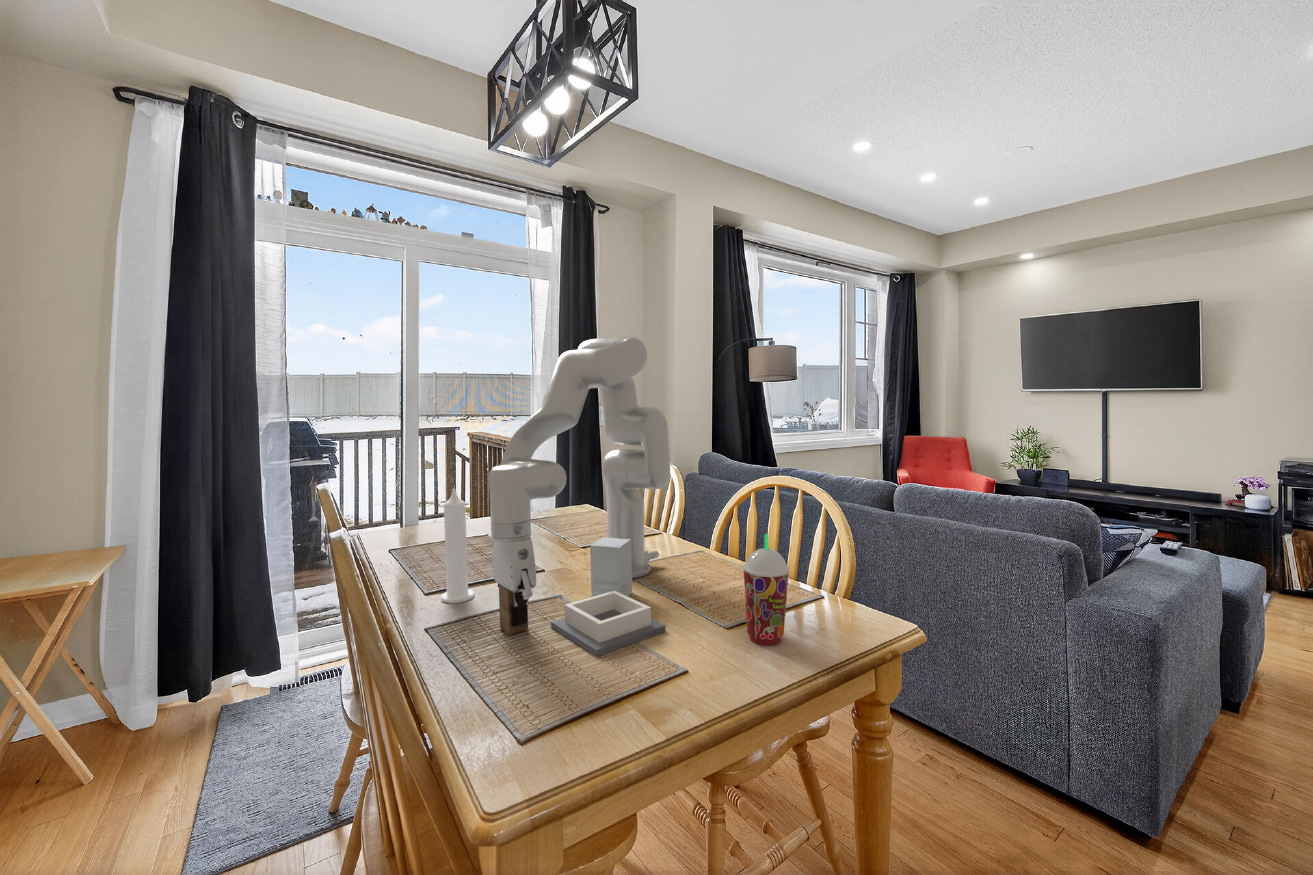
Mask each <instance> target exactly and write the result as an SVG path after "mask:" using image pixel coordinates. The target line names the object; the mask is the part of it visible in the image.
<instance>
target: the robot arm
mask: <svg viewBox="0 0 1313 875" xmlns="http://www.w3.org/2000/svg"><path fill="white" fill-rule="evenodd" d="M647 352H648V351H647V349H646V346H645V344H644V343H643V341H642V340H640V339H639V338H637V337H635V336H634V337H633V336H623V337H621V336H620V337H604V338H603V337H602V338H601V337H600V338H591V339H588V340H584V341H583V342H581V343H580V344H579V346H578V347H577V349H571V350H566V351H564V352H563V353H561V355H560V356H559V357H558V359H557V361H556V364H555V367H554V369H553V371H552V374H551V378H550V379H549V382H548V384H547V385H548V386H547V387H546V390H545V394H544V396H543V399H542V402H541V404H540V407H539V409H538V410H537V411H536V412H535V413H534V414H532V415H531V416H530V417H529V418H528V419H527V420H526V421H525V422H524V423H523V424H522V425H521V426H520V427H519V428H518V429H517V430H516V432H514V434H513V435H512V436H511V437H510V440H509V441H508V443H507V445H506V448H505V450H504V454H503V455H502V458H501V461H500V464H499V465H496V466H494V467H492V468H491V469H490V471H489V474H488V476H489V483H488V484H489V508H490V509H489V510H490V513H489V514H490V534H491V537H490V538H491V540H492V560H491V561H492V575H493V580H494V581H495V582H496V584H497V587H498V588H499V584H500V585H502V586H503V587H505V588H507V589H509V590H510V591H511V595H512V604H513V606H511V625H512V626H513V627H516V626H519V625H522V624H526V623H527V622H528V623H529V612H528V613H527V604H529V599H531V597H532V596H533V591H532V589H534V588H535V587H536V586H537V573H536V572H537V570H536V559H535V551H534V549H535V548H534V544H533V539H532V537H531V536H532V514H531V513H532V512H531V511H532V508H531V500H533V499H535V500H536V499H549V498H554V497H555V496H557V495H559V494H560V493H561V492H563V490H564V488H565V486H566V484H567V473H566V470H565V469H564V467H563V466H562V465H561V464H559V463H557V462H555V461H552V460H546V459H545V460H543V459H535V458H534V459H533V456H534V454H535V453H536V452H537V450H538V449H539V447H540V446H541V445H542V444H543V443H545V442H546V441H547V440H550V439H551V438H554V437H555V436H557V435H560V434H561V433H563V432H566V431H568V430H569V429H571V428H573V427H575V426H576V425H577V424H578V422H579V420H580V417H581V414H582V411H583V408H584V405H585V402H586V399H587V396H588V394H589V391H590V389H600V391H601V398H602V409H603V421H604V430H605V435H606V438H607V439H608V441H609V442H611V443H612V444H617V445H625V446H639V447H641V446H642V449H635V448H633V449H631V448H615V449H612V450H610V451H609V452H608V453H607V454H605V456H604V458H603V460H602V464H601V469H602V476H603V481H604V486H605V493H606V494H605V495H606V538H619V539H631V556H632V579H635V578H640V577H643V576H644V577H645V576H646V575H647V574H649V573H650V572H651V565H650V564H649V563H648V562H650V560H654V559H658V558H659V557H660V553H659V552H658V550H654V551H653V550H652V551H650V552H649V551H648V550H645V502H644V499H643V495H642V493H641V492H640V491H639V489H646V490H647V489H648V490H659V489H663V488H664V487H665V486H666V485H667V484H668V483H669V480H670V476H671V456H670V455H671V454H670V440H669V427H668V422H667V419H666V416H665V415H664V413H663V412H662V411H661V410H660V409H659V408H657V407H654V406H640V405H639V404H638V400H637V399H638V397H637V390H636V385H635V382H634V380H633V377H635V376H636V375H638V374H639V373H640V372H642V370H643V369H644V367H645V366H646V363H647V358H648V354H647ZM518 586H521V587H522V588H518ZM520 592H522V594H521V595H519V596H518V598H517V593H520Z"/></svg>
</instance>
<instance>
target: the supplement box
mask: <svg viewBox="0 0 1313 875" xmlns="http://www.w3.org/2000/svg"><path fill="white" fill-rule="evenodd" d="M589 548H590V550H589V551H590V552H589V554H590V581H591V582H590V585H591V586H590V588H591V597H594V596H597V595H601V594H604V593H608V592H611V591H617V592H619V593H621V594H623V595H625V596H627V597H629V596H630V595H631V594H632V593H633V578H632V556H631V539H619V538H607V536H606V537H605V536H603V537H601V538H600V539H598V540H596V541H595V542H593V543H592V544H590V545H589Z"/></svg>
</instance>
